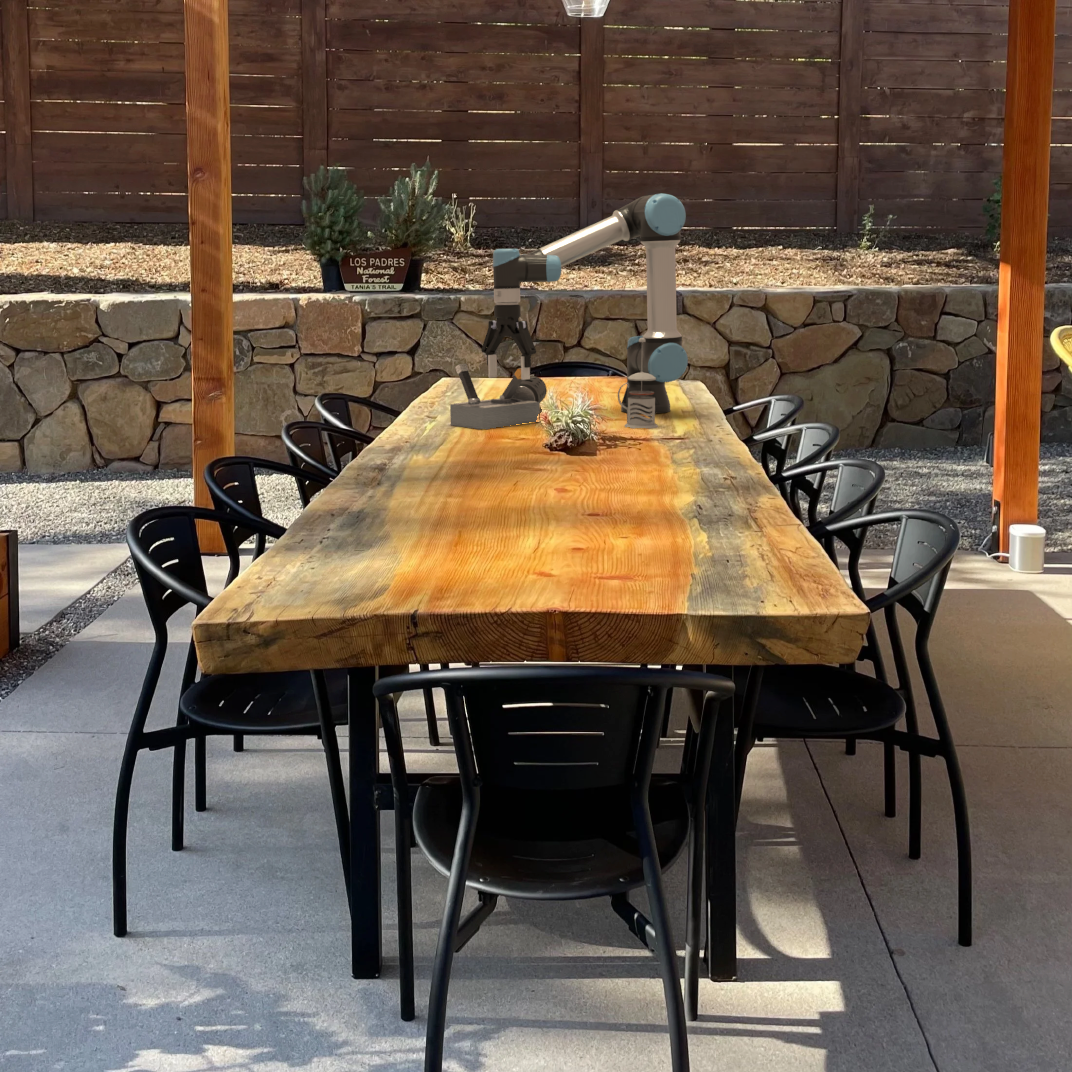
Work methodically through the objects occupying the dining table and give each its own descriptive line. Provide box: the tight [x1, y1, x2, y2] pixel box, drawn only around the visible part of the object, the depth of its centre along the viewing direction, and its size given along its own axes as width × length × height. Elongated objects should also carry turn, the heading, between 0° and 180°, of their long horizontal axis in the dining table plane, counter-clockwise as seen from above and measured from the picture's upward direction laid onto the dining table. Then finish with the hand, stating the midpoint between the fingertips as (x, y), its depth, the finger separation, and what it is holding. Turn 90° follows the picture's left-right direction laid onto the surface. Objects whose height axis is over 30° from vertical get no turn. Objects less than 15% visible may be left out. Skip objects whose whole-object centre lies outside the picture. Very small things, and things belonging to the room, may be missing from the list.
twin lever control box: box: [449, 363, 541, 430], centre depth 391 cm, size 22×14×18 cm, turn 133°
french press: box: [617, 338, 659, 430], centre depth 384 cm, size 10×12×25 cm
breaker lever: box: [499, 368, 522, 401], centre depth 391 cm, size 3×2×12 cm
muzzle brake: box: [511, 375, 548, 403], centre depth 418 cm, size 10×28×10 cm, turn 174°
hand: (509, 378), depth 392 cm, fingers open, 13 cm apart
